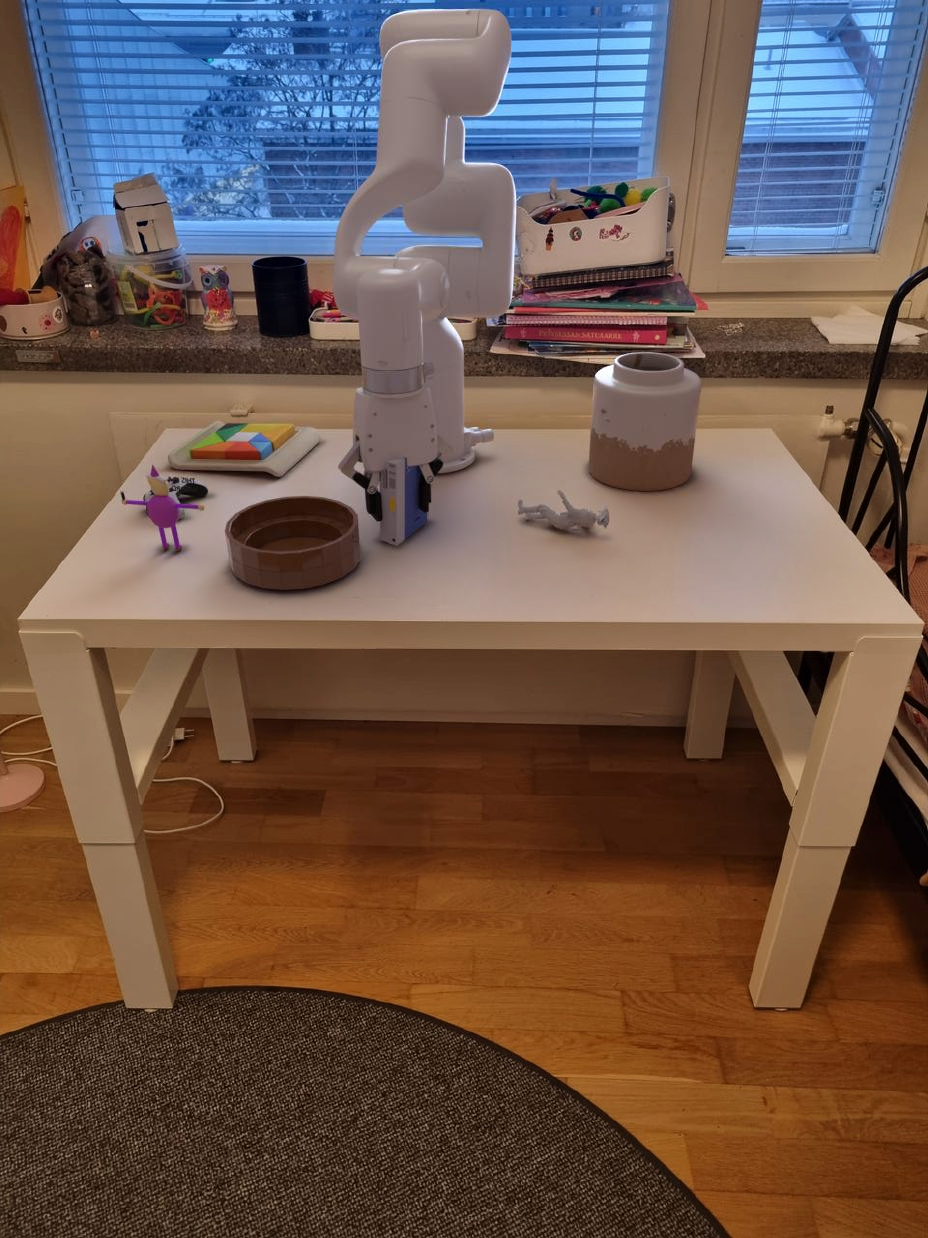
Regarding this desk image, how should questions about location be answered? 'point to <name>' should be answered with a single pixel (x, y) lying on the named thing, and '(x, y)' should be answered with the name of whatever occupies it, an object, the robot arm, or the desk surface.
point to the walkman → (400, 501)
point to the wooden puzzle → (245, 448)
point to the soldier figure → (565, 515)
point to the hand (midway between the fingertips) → (399, 511)
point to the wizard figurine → (164, 505)
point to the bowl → (293, 542)
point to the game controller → (181, 492)
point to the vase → (644, 422)
